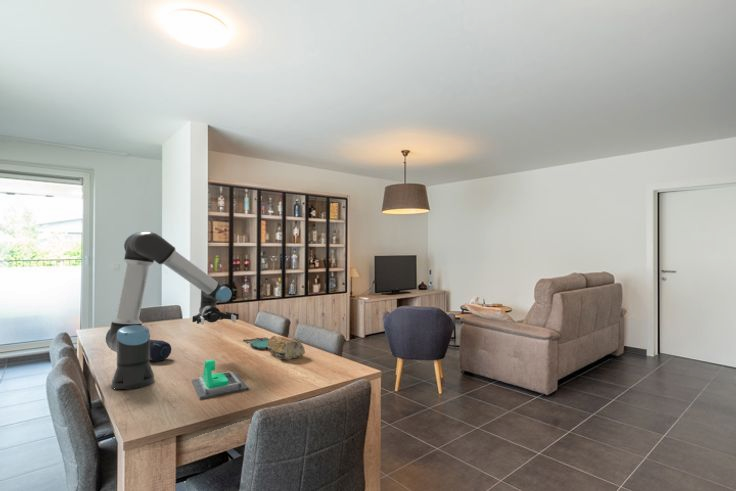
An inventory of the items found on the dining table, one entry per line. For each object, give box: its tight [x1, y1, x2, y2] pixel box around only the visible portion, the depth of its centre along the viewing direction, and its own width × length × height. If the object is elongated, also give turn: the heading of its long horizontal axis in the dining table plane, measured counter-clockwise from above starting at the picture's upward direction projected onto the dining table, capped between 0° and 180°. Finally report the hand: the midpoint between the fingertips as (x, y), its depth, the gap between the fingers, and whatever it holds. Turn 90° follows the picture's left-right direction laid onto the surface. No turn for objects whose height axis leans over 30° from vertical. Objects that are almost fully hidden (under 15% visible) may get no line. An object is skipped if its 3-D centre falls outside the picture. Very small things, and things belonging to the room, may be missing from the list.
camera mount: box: [202, 359, 228, 388], centre depth 154 cm, size 12×8×10 cm, turn 33°
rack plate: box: [191, 370, 249, 400], centre depth 155 cm, size 18×22×2 cm
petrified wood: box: [267, 335, 306, 360], centre depth 198 cm, size 19×13×10 cm
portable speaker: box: [149, 339, 172, 362], centre depth 193 cm, size 25×10×10 cm, turn 74°
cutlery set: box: [242, 337, 270, 350], centre depth 222 cm, size 20×30×2 cm, turn 38°
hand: (219, 320), depth 168 cm, fingers open, 13 cm apart
